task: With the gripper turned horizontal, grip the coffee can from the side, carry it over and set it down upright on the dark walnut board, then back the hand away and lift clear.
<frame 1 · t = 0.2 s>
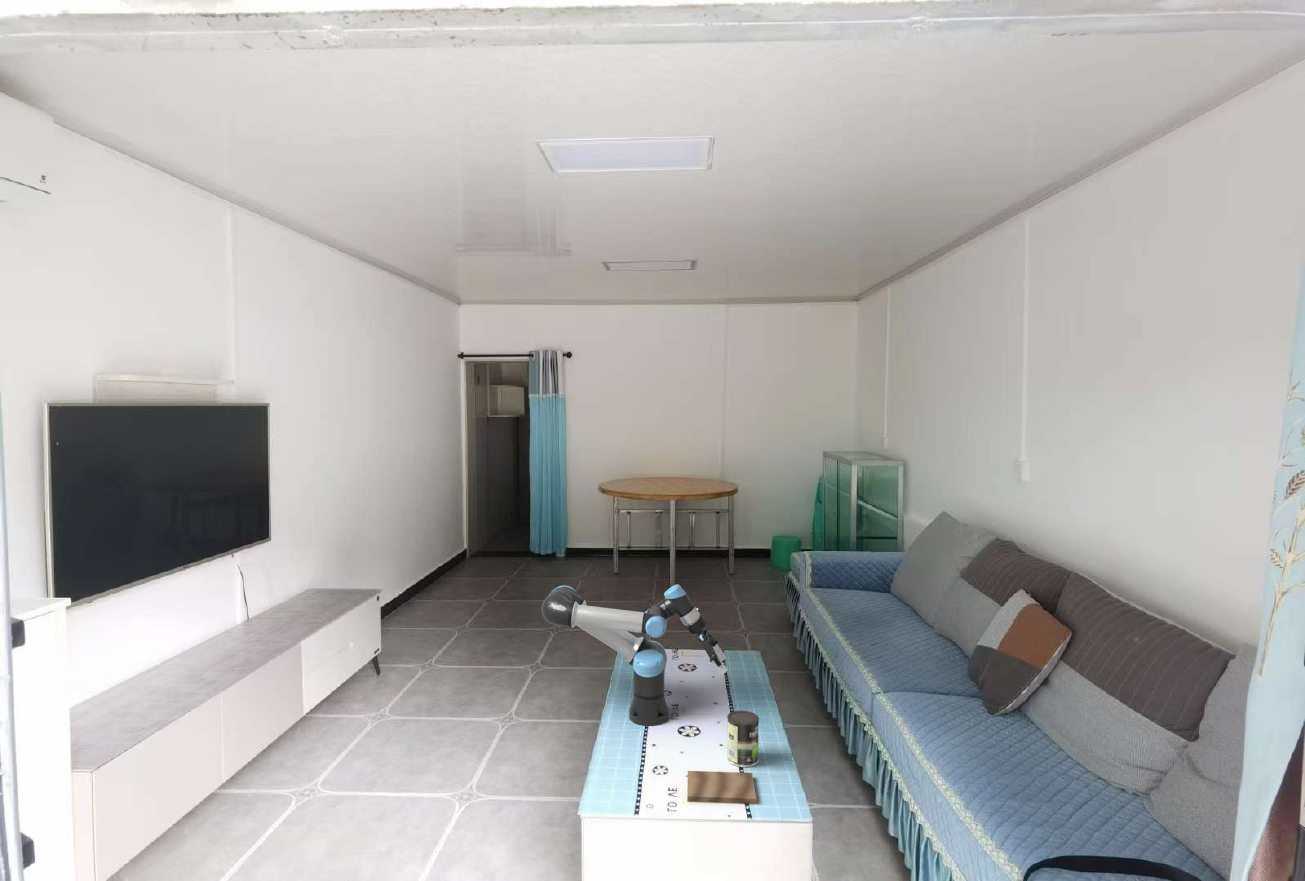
hand: (724, 665, 255), 15 cm above the table, tool tilted 35°, fingers open, 13 cm apart
walnut board: (720, 789, 196), on the table
coffee can: (742, 759, 214), on the table
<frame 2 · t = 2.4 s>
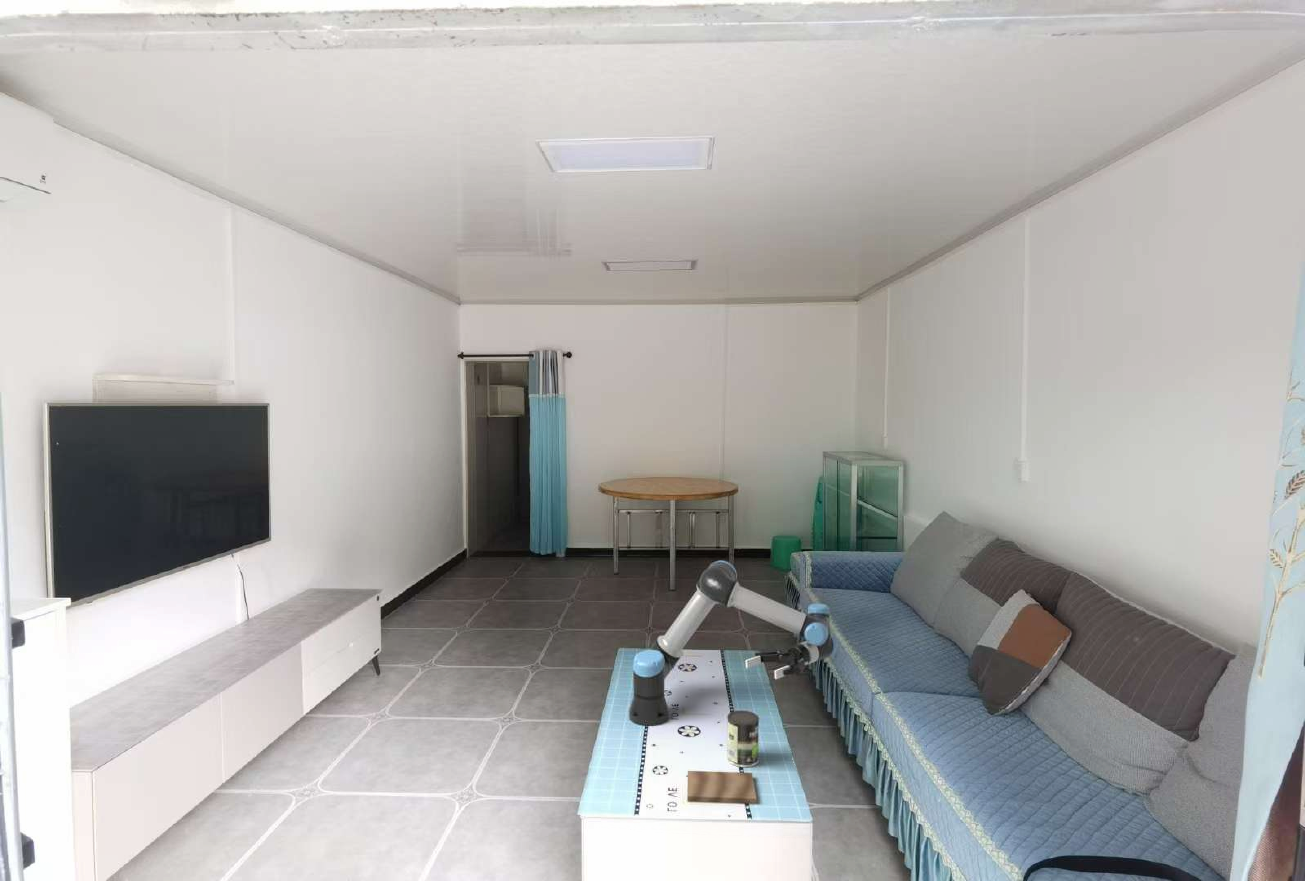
hand: (760, 669, 220), 27 cm above the table, tool horizontal, fingers open, 13 cm apart
nothing on the table moved.
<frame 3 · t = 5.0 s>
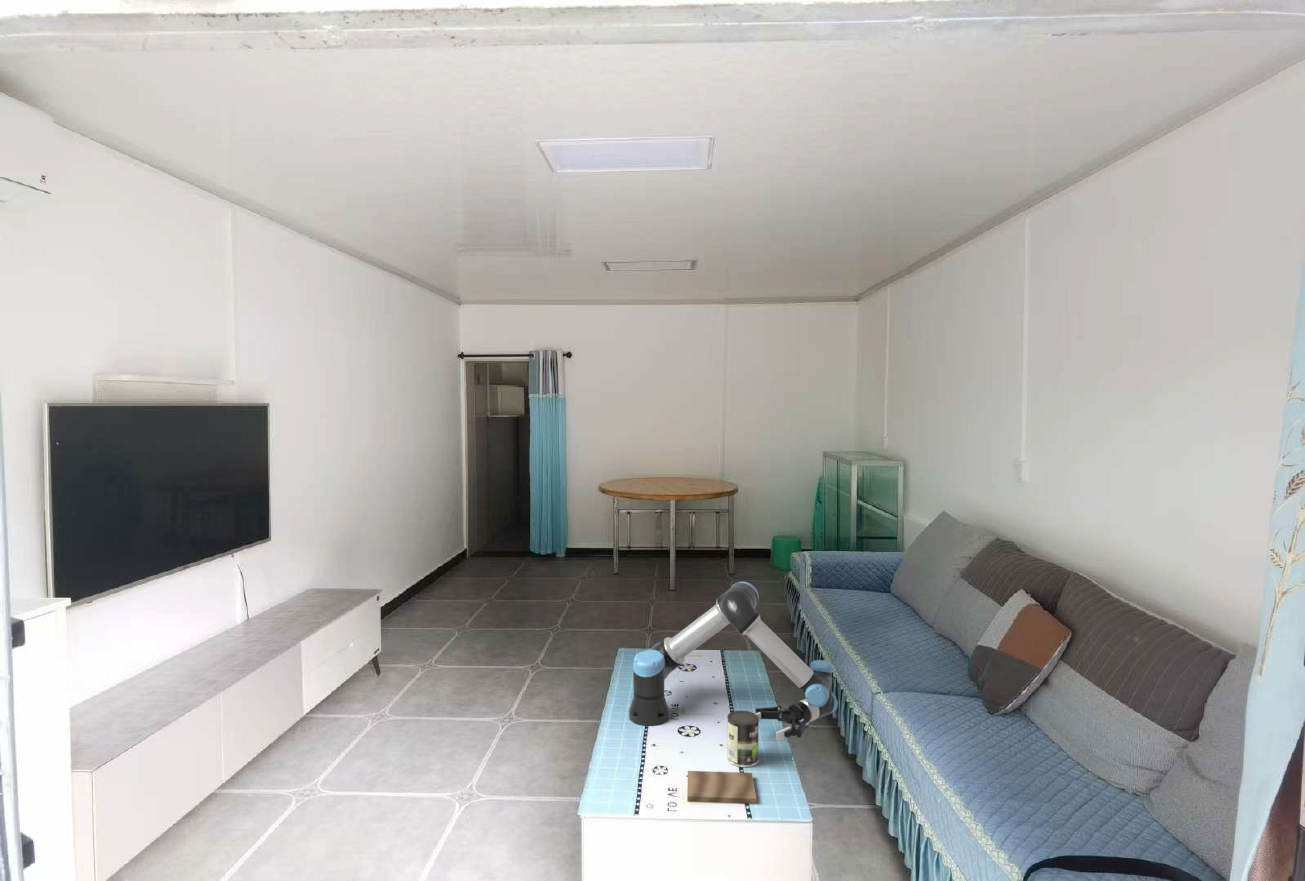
hand: (761, 728, 218), 8 cm above the table, tool horizontal, fingers open, 13 cm apart
nothing on the table moved.
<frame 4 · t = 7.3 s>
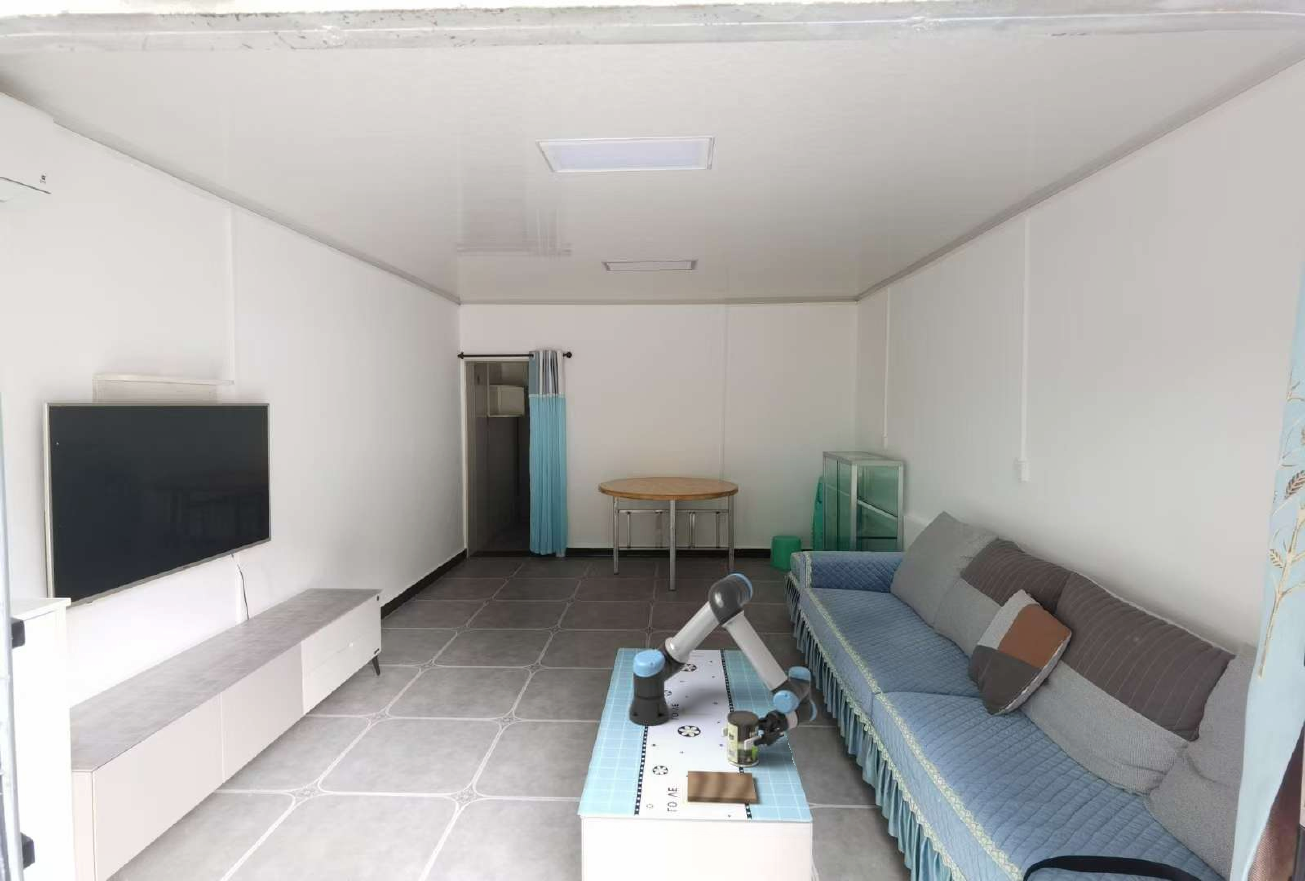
hand: (733, 738, 211), 8 cm above the table, tool horizontal, fingers closed on coffee can, 10 cm apart
coffee can: (742, 759, 214), on the table, touching gripper
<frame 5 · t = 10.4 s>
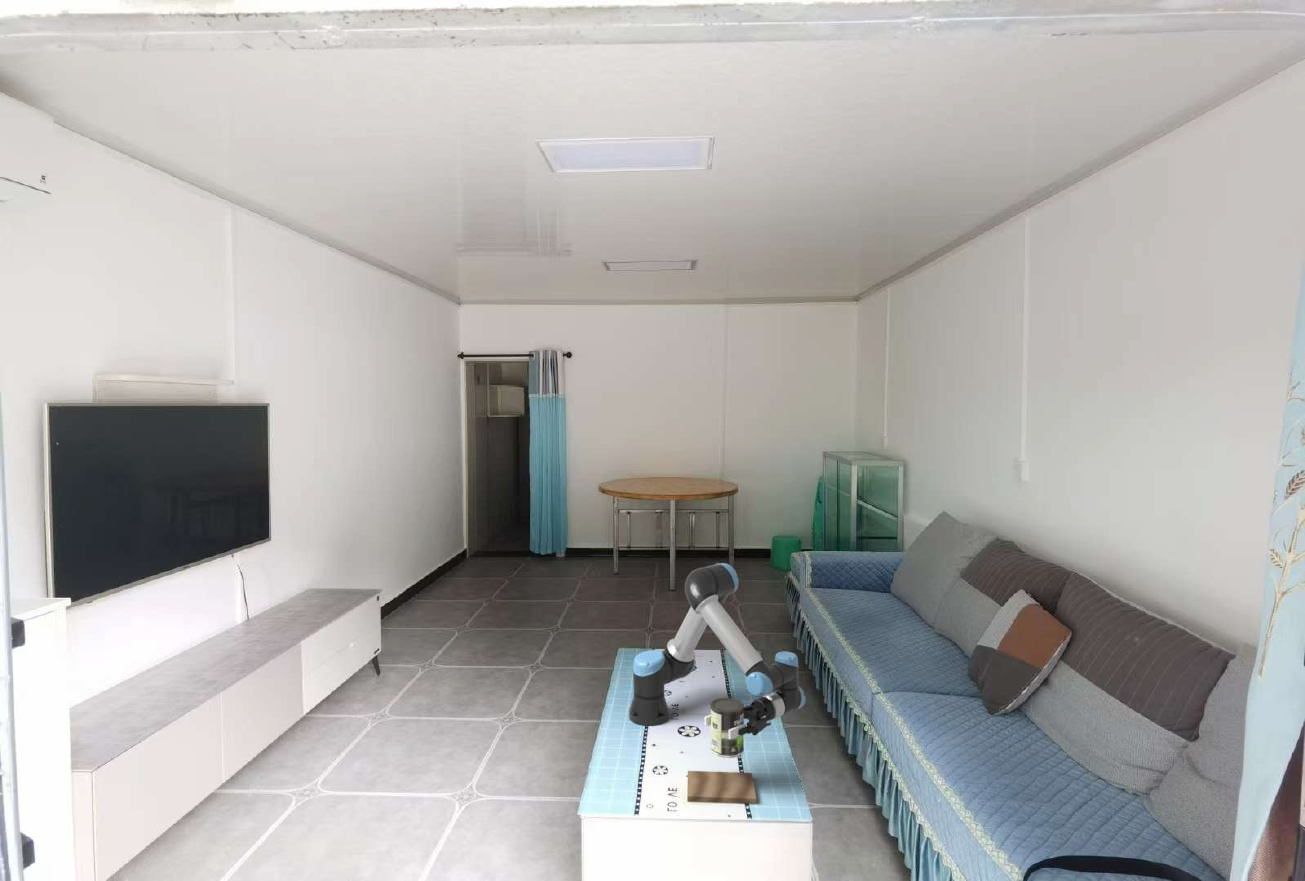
hand: (717, 728, 198), 18 cm above the table, tool horizontal, fingers closed on coffee can, 10 cm apart
coffee can: (727, 750, 200), point 10 cm above the table, touching gripper
when the fingers open (11 cm above the table, at t = 13.5 s): coffee can drops 1 cm, resting on walnut board.
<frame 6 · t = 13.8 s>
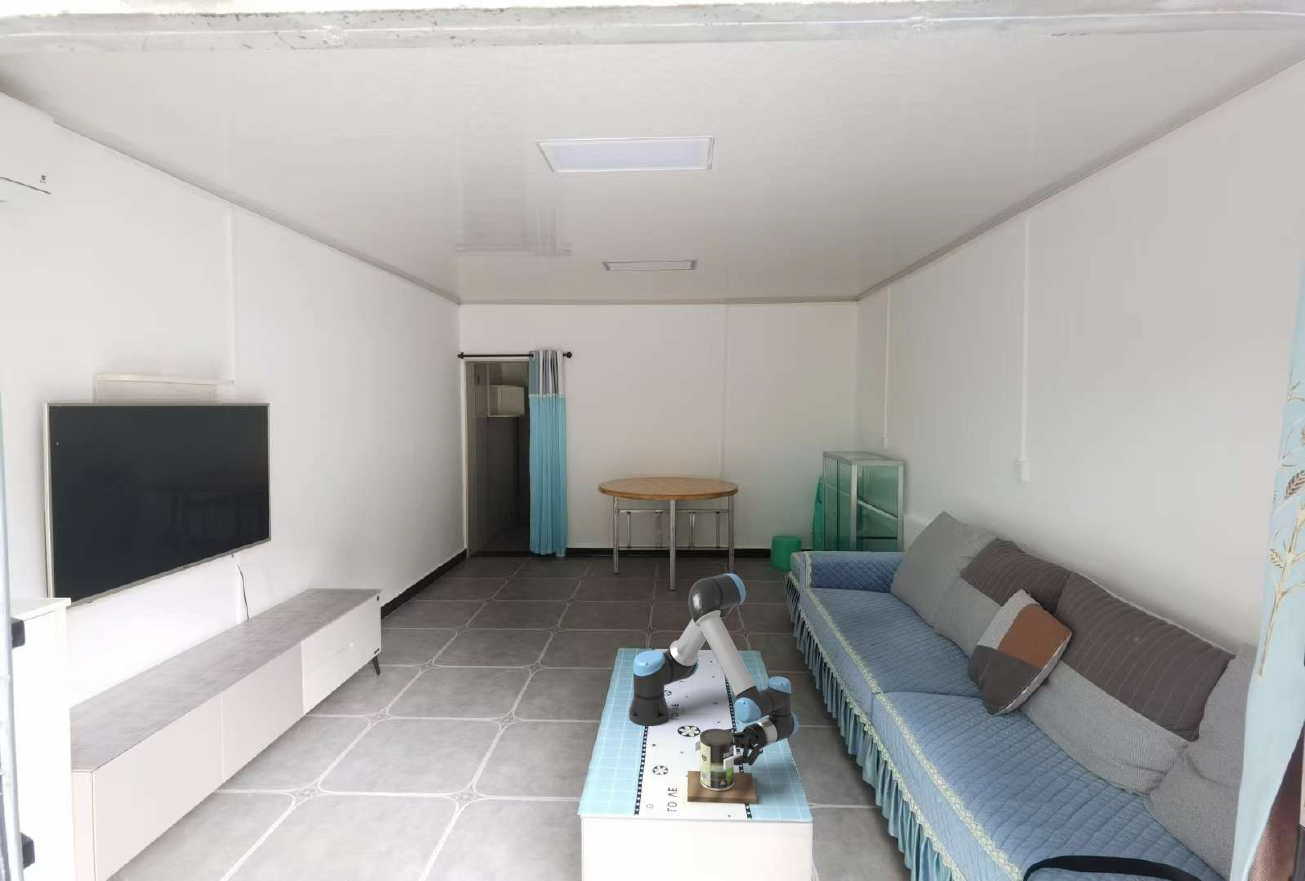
hand: (709, 755, 195), 11 cm above the table, tool horizontal, fingers open, 13 cm apart
coffee can: (717, 782, 197), point 1 cm above the table, touching walnut board
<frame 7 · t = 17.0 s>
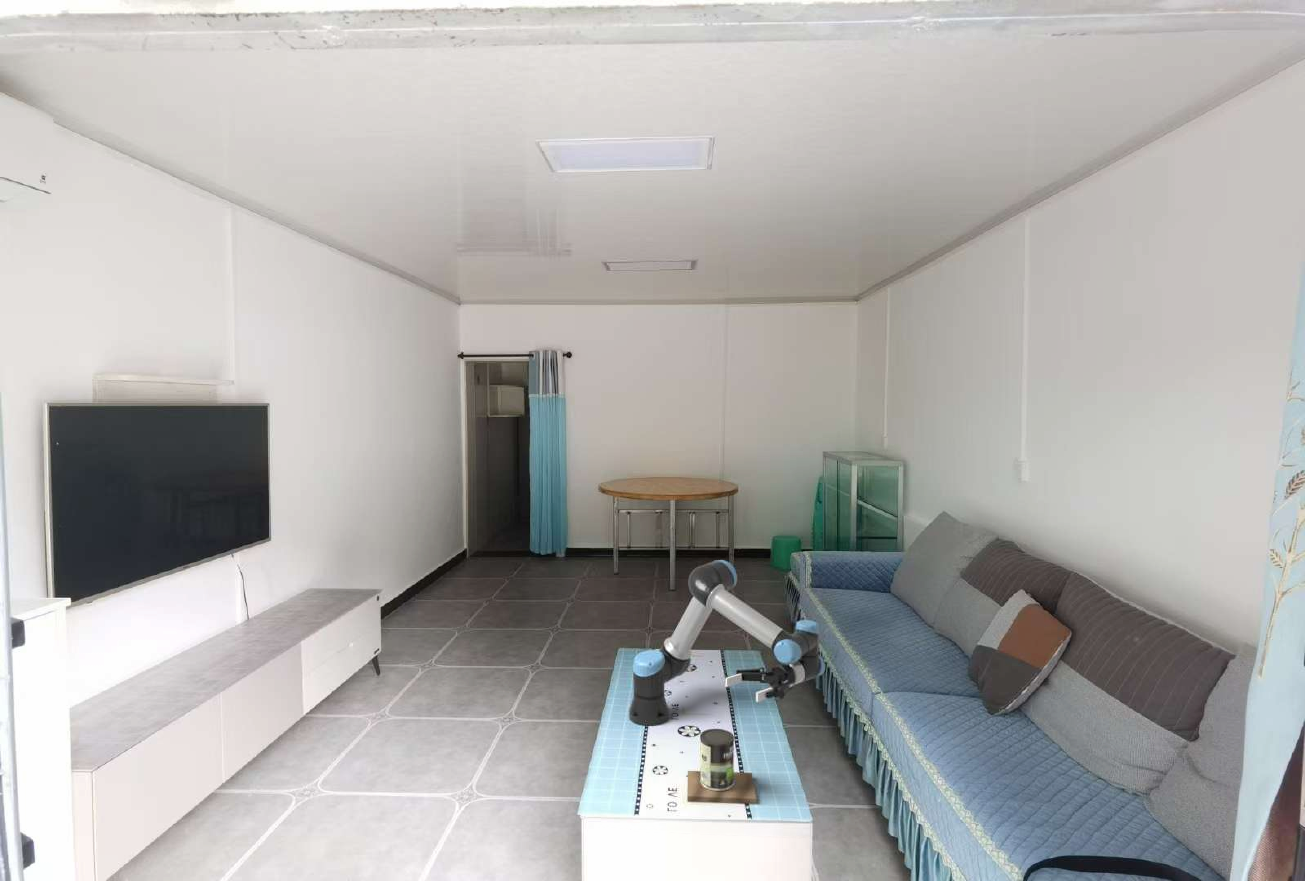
hand: (741, 689, 202), 28 cm above the table, tool horizontal, fingers open, 13 cm apart
nothing on the table moved.
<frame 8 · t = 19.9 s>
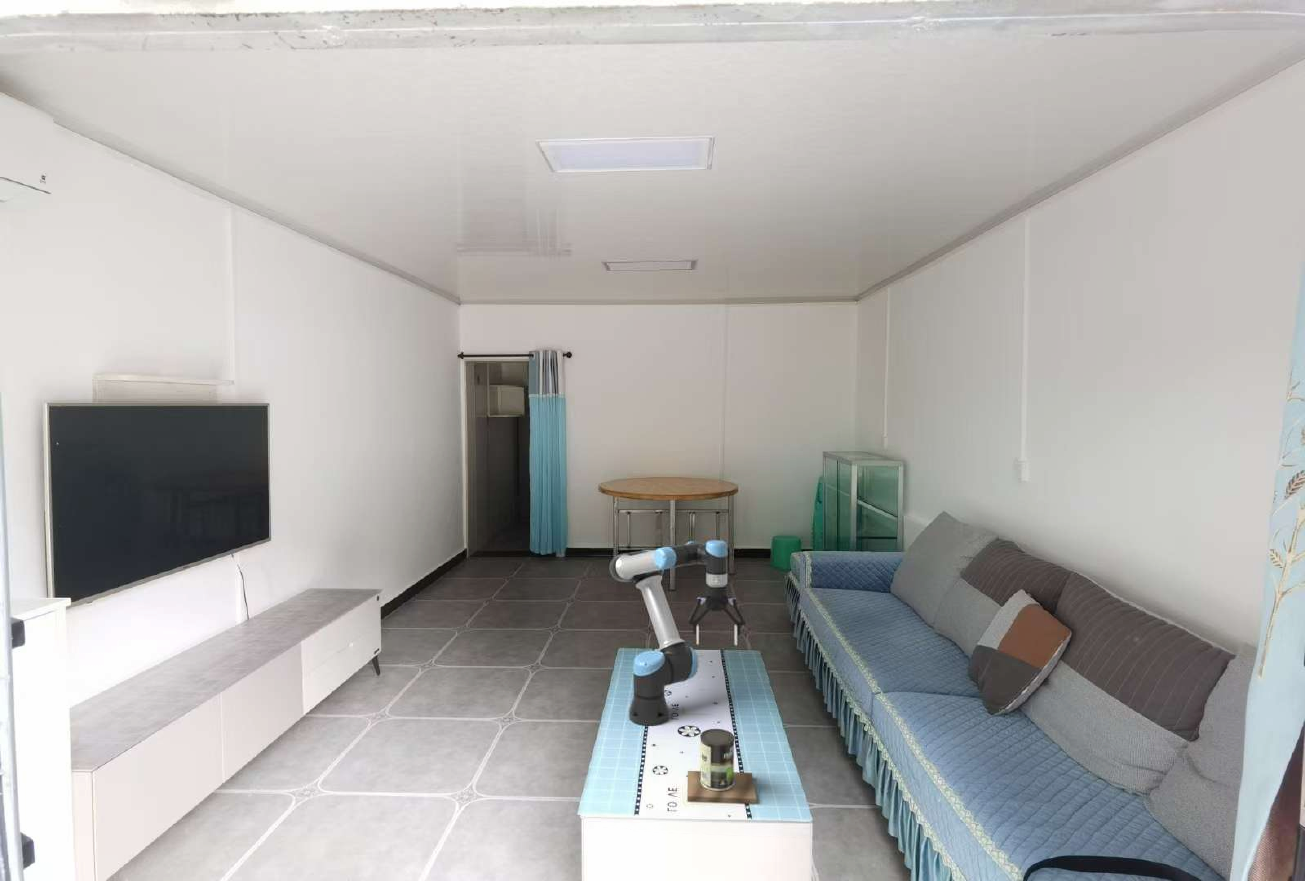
hand: (716, 643, 232), 32 cm above the table, tool pointing down, fingers open, 13 cm apart
nothing on the table moved.
at the end: coffee can inside the target area on the walnut board (1.6 cm from its centre), point 1.3 cm above the walnut board's base; coffee can tilted 0°; the gripper is holding nothing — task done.
